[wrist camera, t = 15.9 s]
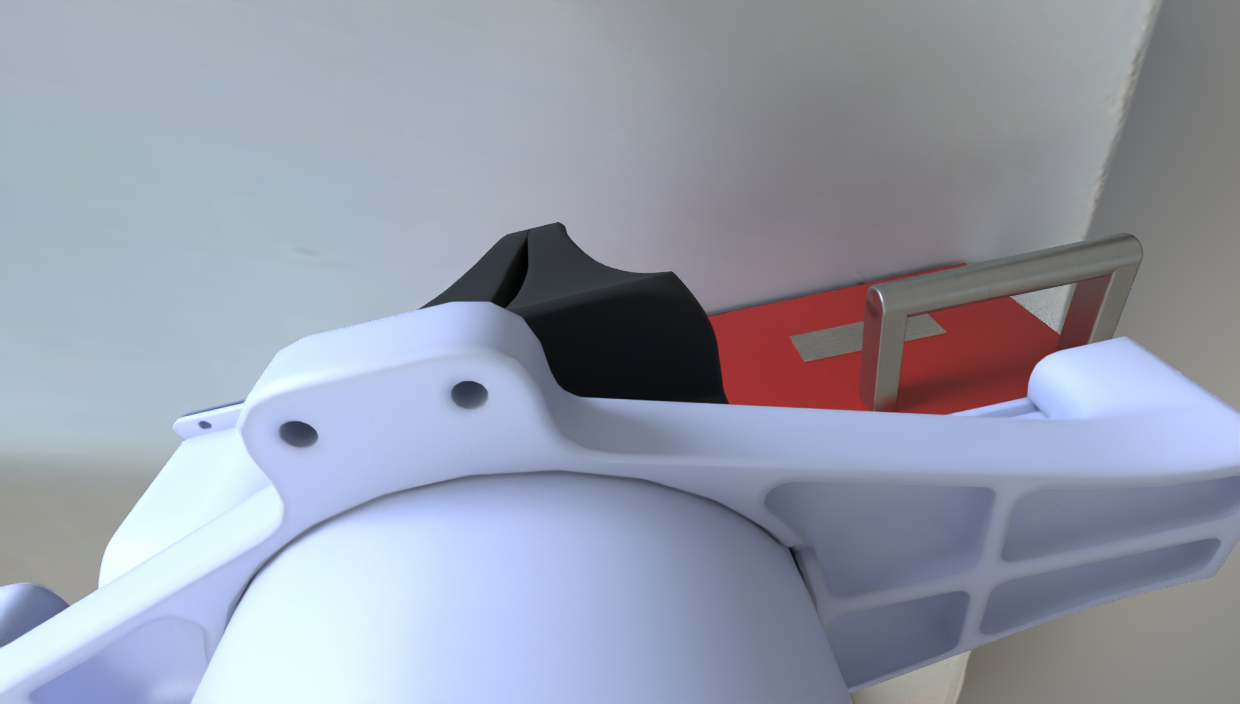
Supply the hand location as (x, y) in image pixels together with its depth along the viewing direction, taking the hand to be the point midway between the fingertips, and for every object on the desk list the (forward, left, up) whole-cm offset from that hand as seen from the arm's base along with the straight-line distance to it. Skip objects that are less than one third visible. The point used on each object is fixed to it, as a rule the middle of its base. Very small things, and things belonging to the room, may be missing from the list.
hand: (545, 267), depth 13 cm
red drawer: (+11, -7, -10) cm, 16 cm away
